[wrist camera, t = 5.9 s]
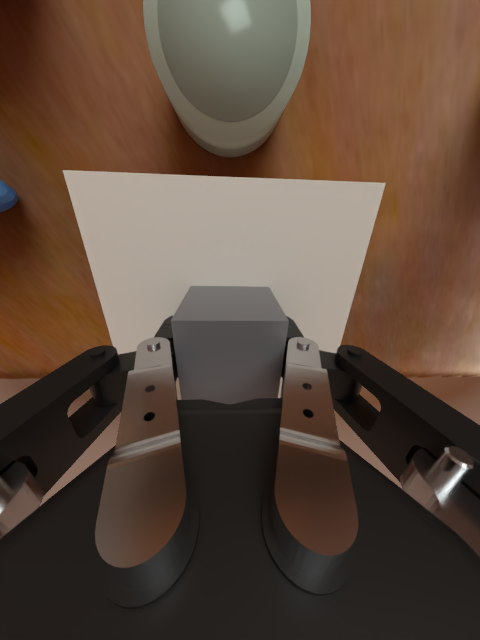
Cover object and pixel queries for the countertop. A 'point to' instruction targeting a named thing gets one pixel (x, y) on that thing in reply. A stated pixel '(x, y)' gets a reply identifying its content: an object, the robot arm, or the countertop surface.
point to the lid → (224, 268)
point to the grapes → (7, 197)
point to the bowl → (228, 65)
